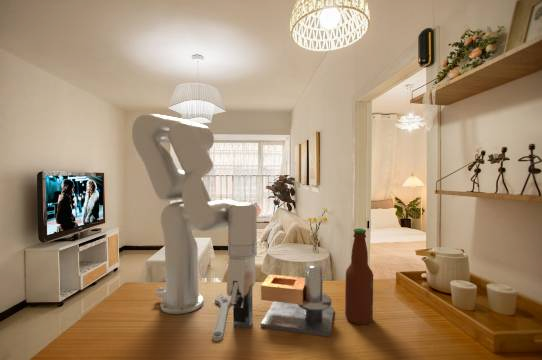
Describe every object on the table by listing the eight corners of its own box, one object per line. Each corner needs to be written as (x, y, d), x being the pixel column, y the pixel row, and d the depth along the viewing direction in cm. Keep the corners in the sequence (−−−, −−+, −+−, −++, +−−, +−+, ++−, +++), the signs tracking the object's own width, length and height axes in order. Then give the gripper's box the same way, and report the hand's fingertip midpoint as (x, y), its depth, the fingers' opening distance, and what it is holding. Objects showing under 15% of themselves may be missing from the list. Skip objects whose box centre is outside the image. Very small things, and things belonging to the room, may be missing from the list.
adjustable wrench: (222, 343, 72) (222, 336, 72) (196, 342, 72) (196, 335, 72) (237, 297, 97) (237, 291, 97) (218, 296, 97) (218, 291, 97)
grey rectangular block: (233, 325, 79) (233, 285, 78) (236, 321, 81) (236, 281, 81) (249, 328, 78) (249, 286, 77) (252, 323, 80) (252, 283, 80)
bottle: (378, 321, 81) (379, 230, 80) (359, 328, 77) (360, 233, 76) (358, 310, 87) (359, 225, 86) (339, 316, 84) (340, 228, 83)
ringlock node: (258, 326, 78) (257, 270, 78) (271, 303, 92) (271, 255, 91) (330, 337, 74) (330, 277, 73) (333, 310, 87) (334, 260, 86)
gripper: (240, 240, 88) (241, 301, 89) (215, 257, 71) (216, 331, 72) (265, 242, 86) (265, 304, 87) (244, 260, 69) (245, 336, 70)
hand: (243, 315), depth 79 cm, fingers open, 4 cm apart
